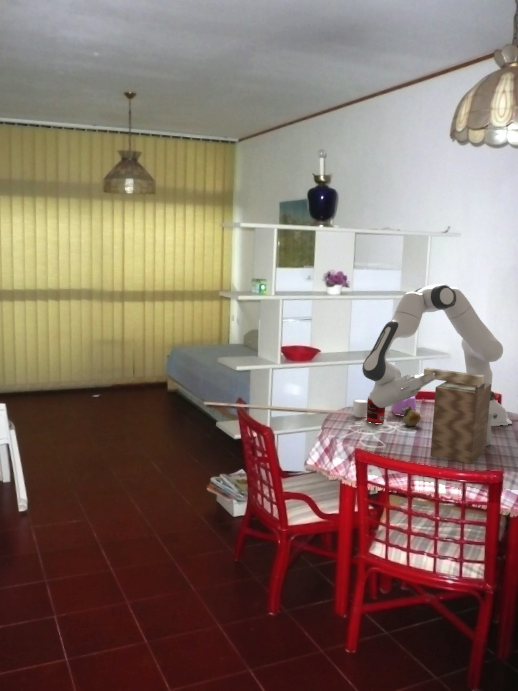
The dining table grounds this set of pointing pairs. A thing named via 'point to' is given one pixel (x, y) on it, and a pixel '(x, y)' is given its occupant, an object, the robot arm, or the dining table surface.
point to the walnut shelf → (460, 421)
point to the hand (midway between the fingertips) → (438, 373)
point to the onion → (411, 417)
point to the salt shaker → (489, 431)
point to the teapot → (404, 405)
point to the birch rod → (455, 376)
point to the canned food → (374, 412)
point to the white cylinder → (360, 407)
